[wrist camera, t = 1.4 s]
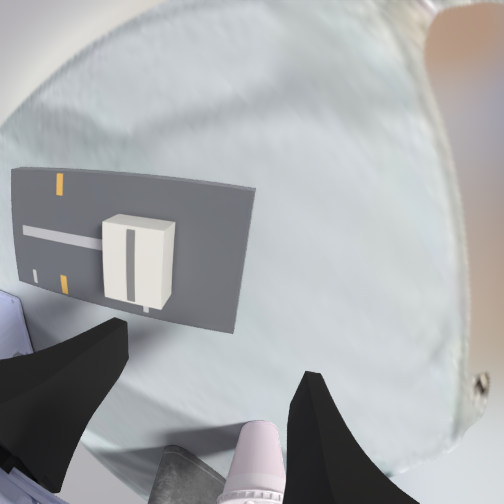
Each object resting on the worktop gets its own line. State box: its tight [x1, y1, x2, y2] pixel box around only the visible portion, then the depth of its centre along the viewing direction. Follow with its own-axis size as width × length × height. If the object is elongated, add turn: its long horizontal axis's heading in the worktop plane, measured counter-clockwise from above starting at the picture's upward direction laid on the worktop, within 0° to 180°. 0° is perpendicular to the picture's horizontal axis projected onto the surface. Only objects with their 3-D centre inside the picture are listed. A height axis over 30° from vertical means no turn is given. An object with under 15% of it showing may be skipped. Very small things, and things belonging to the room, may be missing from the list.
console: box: [11, 167, 256, 334], centre depth 20 cm, size 20×10×2 cm, turn 81°
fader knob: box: [102, 214, 175, 310], centre depth 18 cm, size 4×5×2 cm
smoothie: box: [217, 420, 286, 504], centre depth 20 cm, size 6×6×14 cm
